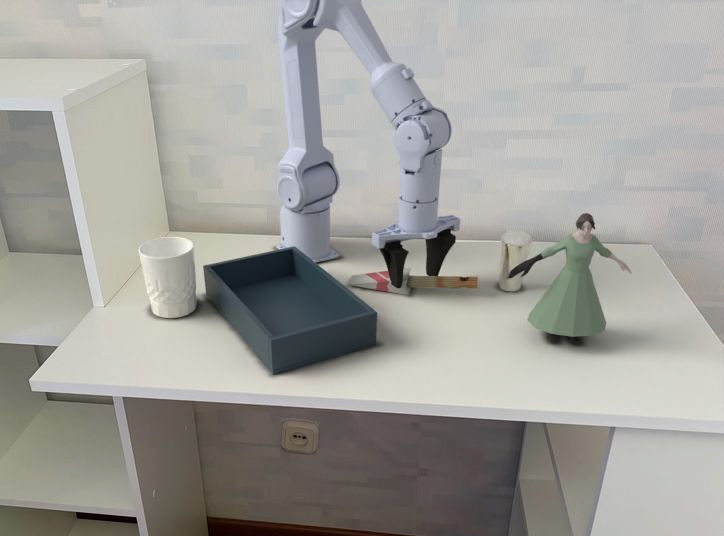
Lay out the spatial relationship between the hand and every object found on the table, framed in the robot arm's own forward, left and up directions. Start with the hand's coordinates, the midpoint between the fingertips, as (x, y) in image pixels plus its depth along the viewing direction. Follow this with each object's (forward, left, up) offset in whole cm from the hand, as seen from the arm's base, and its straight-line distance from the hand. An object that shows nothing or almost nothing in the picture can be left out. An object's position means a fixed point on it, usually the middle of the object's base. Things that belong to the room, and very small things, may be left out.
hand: (413, 281), depth 110 cm
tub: (-1, -22, -2) cm, 22 cm away
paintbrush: (0, 0, -2) cm, 2 cm away
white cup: (-12, -35, -2) cm, 37 cm away
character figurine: (+22, +9, -2) cm, 24 cm away
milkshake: (+7, +14, -2) cm, 16 cm away
